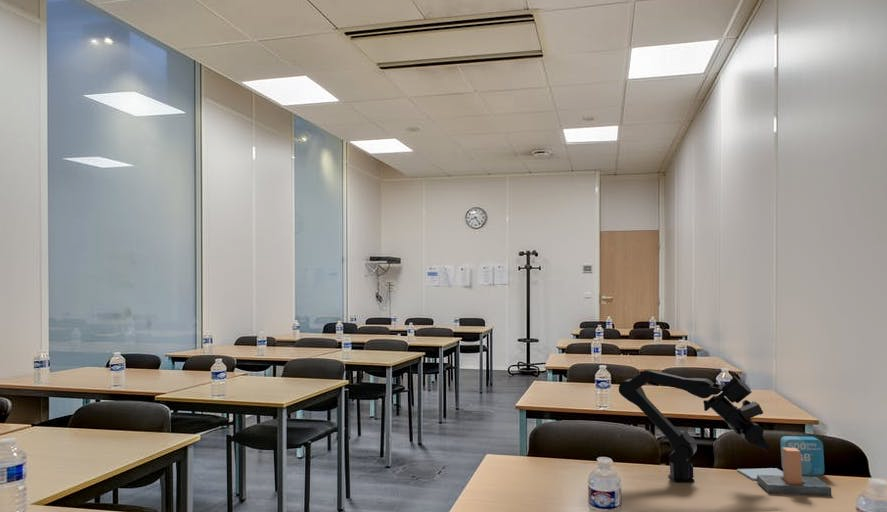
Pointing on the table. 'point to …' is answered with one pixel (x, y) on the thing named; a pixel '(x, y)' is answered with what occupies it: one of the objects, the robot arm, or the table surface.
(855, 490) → the table surface
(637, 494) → the table surface
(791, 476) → the peg
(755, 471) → the pad
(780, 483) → the grey base plate
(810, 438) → the data package
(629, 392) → the robot arm
